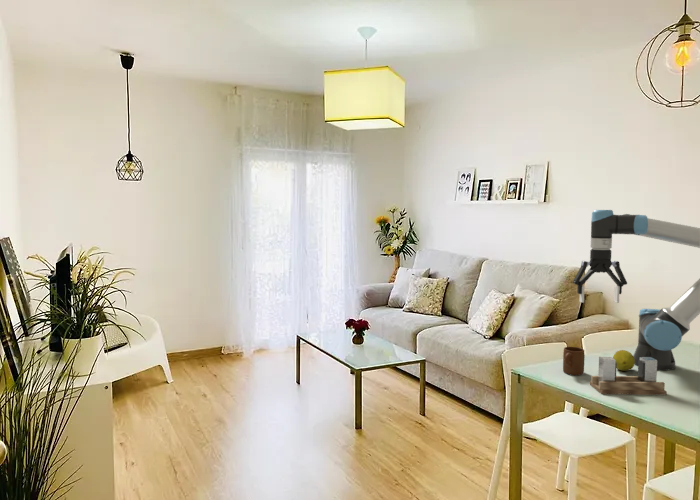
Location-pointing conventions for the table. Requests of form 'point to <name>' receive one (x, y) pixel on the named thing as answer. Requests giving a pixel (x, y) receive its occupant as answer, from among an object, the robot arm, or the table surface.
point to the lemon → (624, 360)
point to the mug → (573, 360)
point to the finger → (647, 369)
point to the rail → (628, 386)
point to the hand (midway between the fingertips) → (599, 302)
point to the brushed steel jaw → (607, 369)
